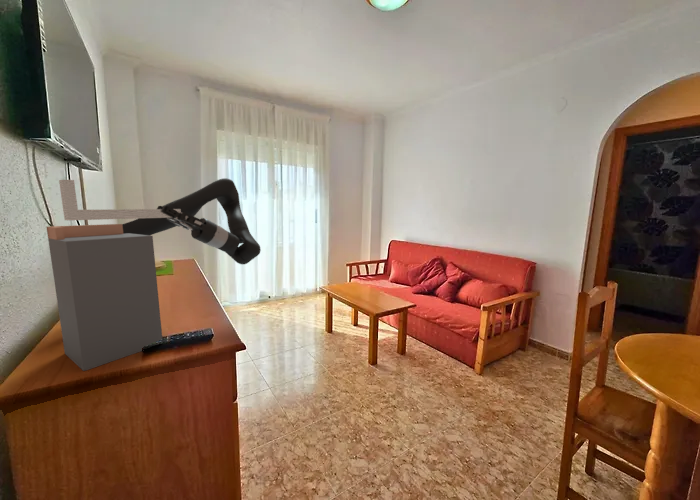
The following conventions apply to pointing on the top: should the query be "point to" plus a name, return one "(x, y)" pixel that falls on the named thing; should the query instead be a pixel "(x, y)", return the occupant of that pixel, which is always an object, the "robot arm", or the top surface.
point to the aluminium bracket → (74, 214)
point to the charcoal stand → (104, 292)
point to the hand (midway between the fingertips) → (160, 208)
